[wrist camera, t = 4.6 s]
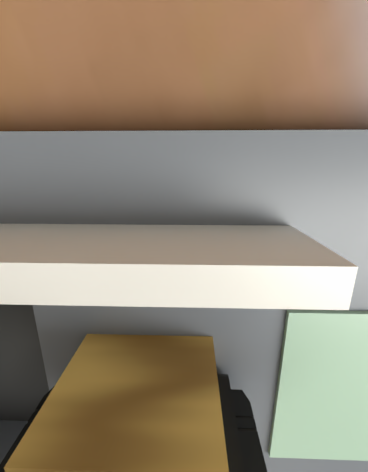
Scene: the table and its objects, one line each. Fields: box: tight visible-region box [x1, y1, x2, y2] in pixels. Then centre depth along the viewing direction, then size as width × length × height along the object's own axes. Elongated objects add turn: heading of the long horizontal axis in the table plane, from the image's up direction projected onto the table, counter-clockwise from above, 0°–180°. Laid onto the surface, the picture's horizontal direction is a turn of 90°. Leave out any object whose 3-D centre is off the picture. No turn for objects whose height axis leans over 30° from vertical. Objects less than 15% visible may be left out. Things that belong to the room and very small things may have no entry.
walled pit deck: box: [0, 130, 368, 472], centre depth 10 cm, size 26×20×6 cm
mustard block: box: [4, 334, 229, 472], centre depth 8 cm, size 5×5×4 cm
